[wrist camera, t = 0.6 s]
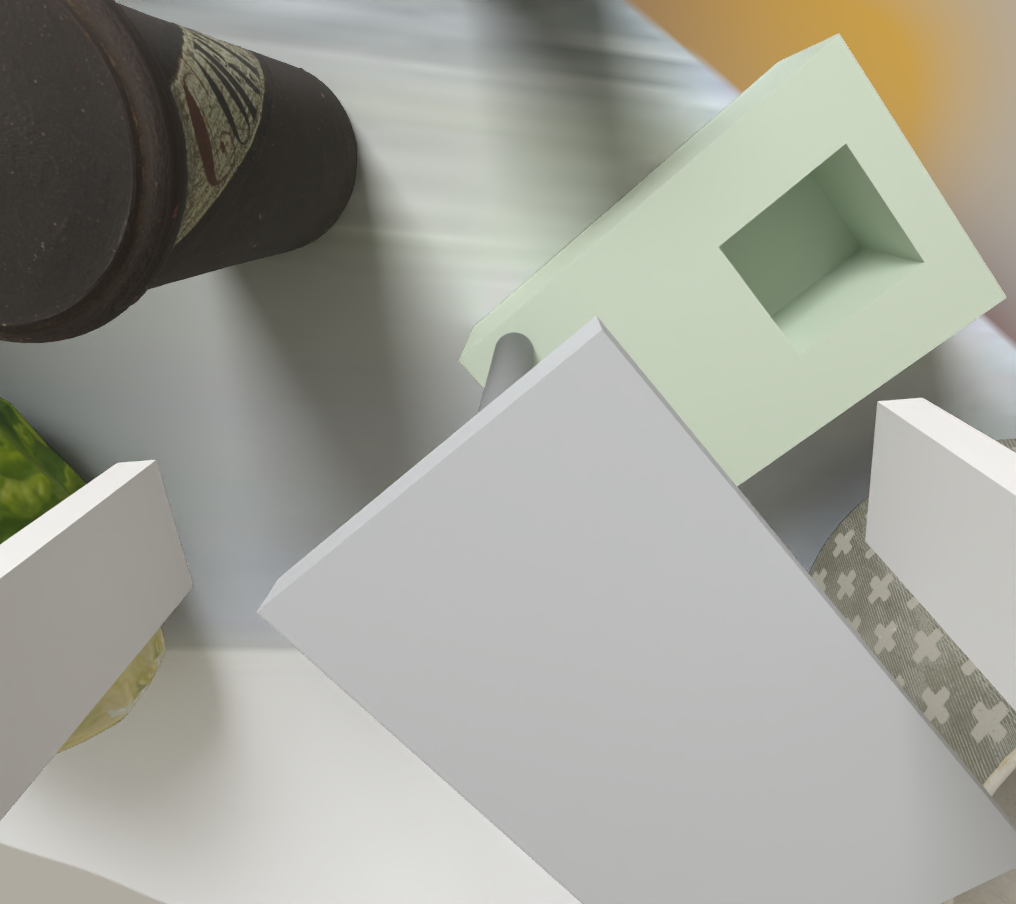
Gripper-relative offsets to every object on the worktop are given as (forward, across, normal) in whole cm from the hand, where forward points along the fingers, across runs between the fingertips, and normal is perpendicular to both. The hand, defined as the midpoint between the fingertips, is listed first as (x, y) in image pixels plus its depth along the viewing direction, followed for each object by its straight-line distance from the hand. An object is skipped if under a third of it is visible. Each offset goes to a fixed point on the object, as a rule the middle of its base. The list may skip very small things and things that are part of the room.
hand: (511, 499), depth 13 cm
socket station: (+24, +8, -1) cm, 25 cm away
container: (+24, -12, +7) cm, 28 cm away
